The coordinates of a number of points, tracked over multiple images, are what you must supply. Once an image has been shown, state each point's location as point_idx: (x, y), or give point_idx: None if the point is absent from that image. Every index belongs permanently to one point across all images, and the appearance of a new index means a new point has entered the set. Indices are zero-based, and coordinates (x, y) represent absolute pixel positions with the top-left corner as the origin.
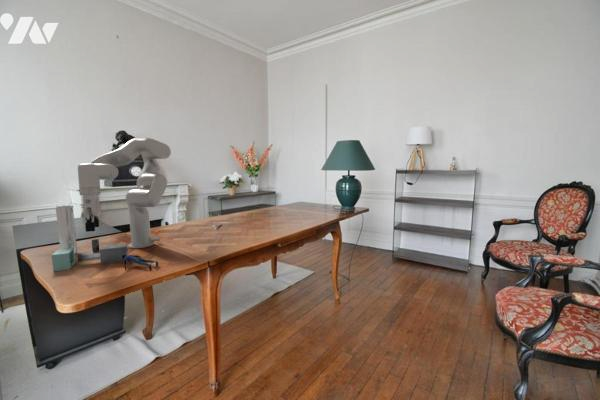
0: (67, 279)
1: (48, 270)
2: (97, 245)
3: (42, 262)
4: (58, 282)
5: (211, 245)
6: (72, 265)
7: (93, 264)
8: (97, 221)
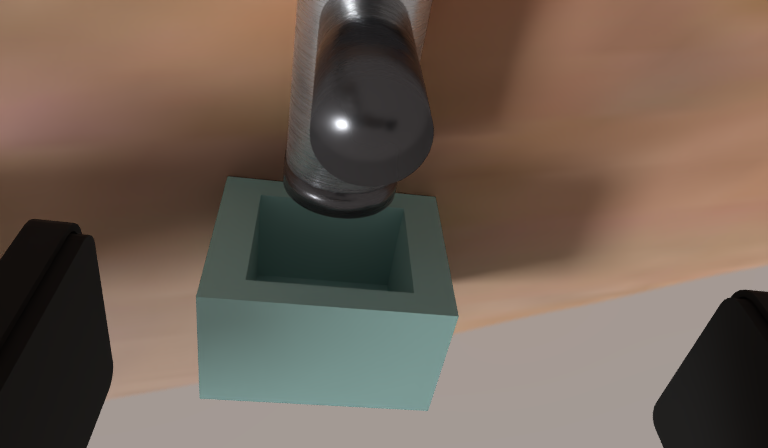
0: (728, 187)
1: None
2: (414, 50)
3: None
4: (743, 231)
5: None
6: None
7: None
8: (4, 404)
